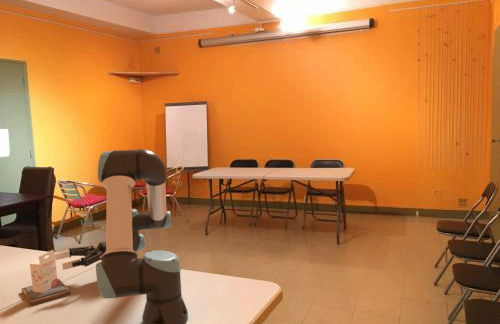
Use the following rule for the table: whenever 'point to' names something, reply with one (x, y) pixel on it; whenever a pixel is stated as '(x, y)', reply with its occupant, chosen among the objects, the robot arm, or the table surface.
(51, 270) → the ink cartridge box
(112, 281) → the robot arm
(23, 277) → the table surface
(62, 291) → the walnut stand
